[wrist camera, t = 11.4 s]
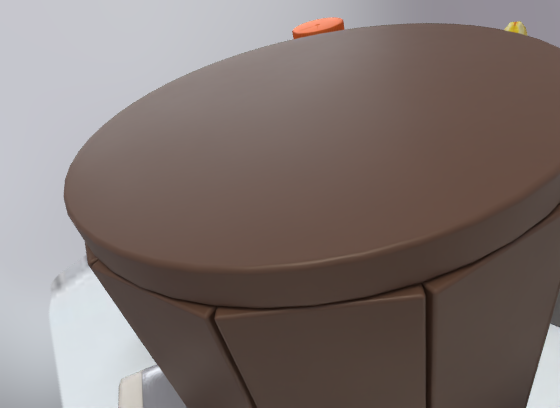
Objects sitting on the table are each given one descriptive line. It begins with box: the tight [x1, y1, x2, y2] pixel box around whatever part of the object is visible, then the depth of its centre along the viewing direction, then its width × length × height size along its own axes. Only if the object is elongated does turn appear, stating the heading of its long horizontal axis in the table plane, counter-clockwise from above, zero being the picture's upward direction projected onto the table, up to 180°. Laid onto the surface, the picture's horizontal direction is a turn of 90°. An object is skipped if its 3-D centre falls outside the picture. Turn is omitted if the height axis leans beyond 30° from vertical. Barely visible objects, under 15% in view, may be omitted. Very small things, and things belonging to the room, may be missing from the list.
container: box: [64, 23, 560, 408], centre depth 10 cm, size 7×7×13 cm
